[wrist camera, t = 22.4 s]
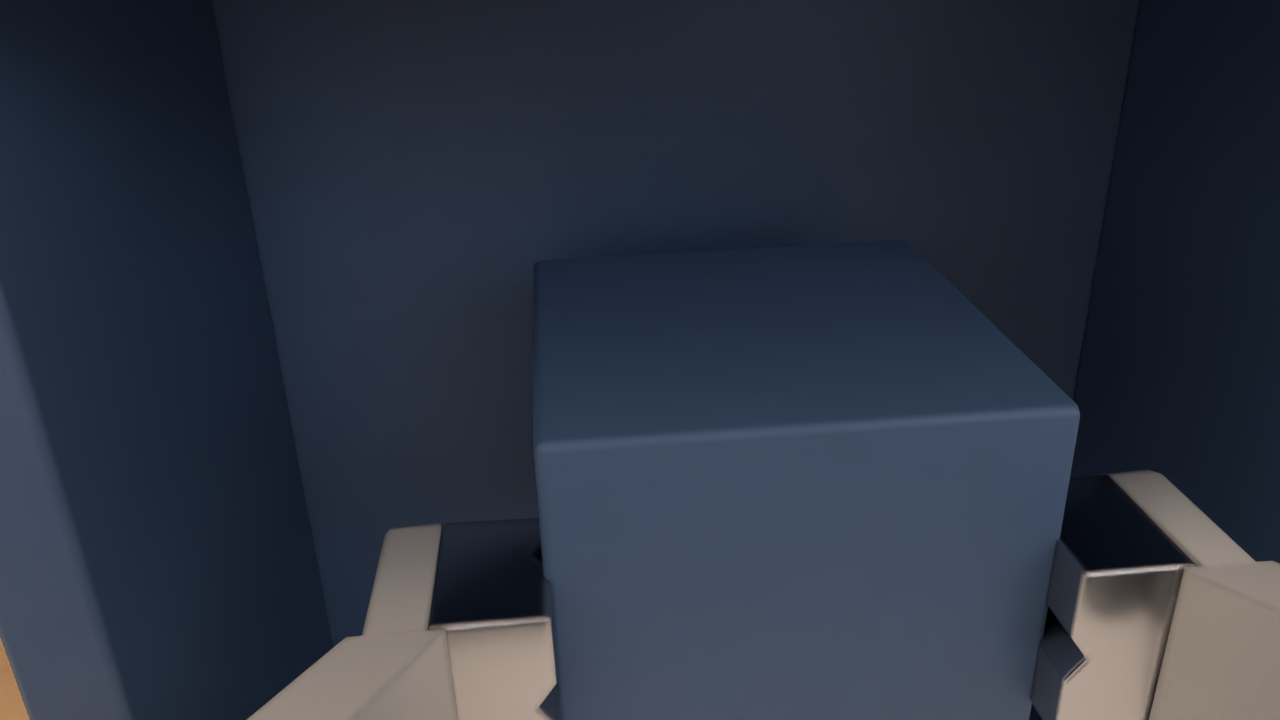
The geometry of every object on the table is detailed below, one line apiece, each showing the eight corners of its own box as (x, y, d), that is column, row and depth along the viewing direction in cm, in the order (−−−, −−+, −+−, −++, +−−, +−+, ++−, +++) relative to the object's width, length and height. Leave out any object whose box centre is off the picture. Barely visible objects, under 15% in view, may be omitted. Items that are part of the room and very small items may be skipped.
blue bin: (135, -133, 12) (-284, -143, 6) (1190, -162, 13) (1798, -200, 7) (311, 712, 17) (188, 1176, 11) (1049, 648, 18) (1315, 1042, 12)
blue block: (532, 257, 12) (532, 446, 8) (906, 236, 12) (1087, 406, 8) (556, 573, 14) (565, 853, 10) (881, 548, 14) (1018, 809, 10)
